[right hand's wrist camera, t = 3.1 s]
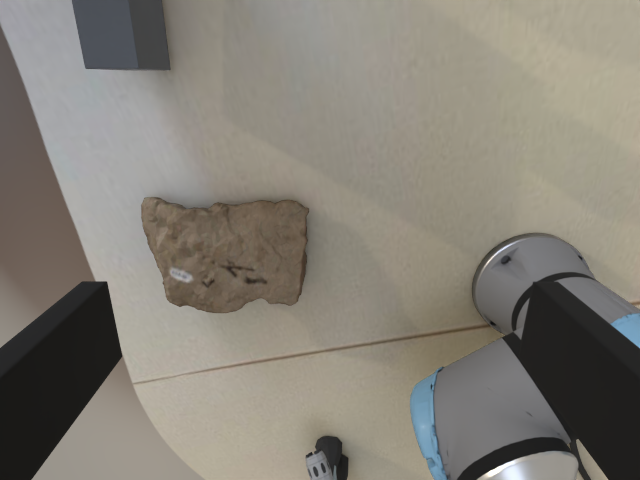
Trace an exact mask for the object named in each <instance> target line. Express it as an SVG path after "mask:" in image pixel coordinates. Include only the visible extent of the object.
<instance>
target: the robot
mask: <svg viewBox="0 0 640 480" xmlns="http://www.w3.org/2000/svg"><path fill="white" fill-rule="evenodd" d="M315 448H316V450H317V451H315V452H314V453H315V454H312V452H311V453H309V454H308V455H306V466H307V470H308V473H309V476H310V479H311V480H347V477H348V458H347V457H346V456H344V455H342V442H341V441H340V440H339V439H338V438H337V437H329V436H326V437H322V438H320V439H319V440H318V441H317V443H316V446H315Z"/></svg>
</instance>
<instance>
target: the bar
mask: <svg viewBox="0 0 640 480" xmlns="http://www.w3.org/2000/svg"><path fill="white" fill-rule="evenodd" d="M72 4H73V9H74V14H75V19H76V24H77V29H78V34H79V39H80V44H81V49H82V54H83V59H84V64H85V68H86V69H107V70H170V62H169V54H168V46H167V39H166V31H165V23H164V15H163V7H162V0H72Z"/></svg>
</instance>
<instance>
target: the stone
mask: <svg viewBox="0 0 640 480" xmlns="http://www.w3.org/2000/svg"><path fill="white" fill-rule="evenodd" d="M141 210H142V216H141V218H142V222H143V228H144V232H145V234H146V236H147V240H148V245H149V247H150V250H151V251H152V253H153V254H154V257H155V260H156V262H157V266H158V268H159V269H160V271H161V273H162V276H163V280H164V281H163V284H164V288H165V292H166V297H167V300H168V301H169V302H170V303H172V304H175V305H177V306H179V307H181V306H185V305H188V306H192V307H195V308H196V309H197V310H203V311H206V312H212V313H228V312H233V311H237V310H239V309H240V308H242V307H243V306H244V305H245V304H246V303H248V302H251V301H254V300H256V299H258V298H263V299H265V300H266V301H267V302H268V303H269V304H277V303H280V304H286V305H290V306H291V305H293V304H295V303H296V302H297V301H298V298H299V295H301V292H302V285H303V281H304V277H305V270H306V263H307V261H306V253H305V247H306V244H307V241H308V240H307V237H306V231H307V227H306V216H307V214H308V212H309V209H308V208H305V207H304V206H302V205H301V204H299V203H298V202H296V201H292V200H284V201H280V202H277V203H275V204H274V203H272V202H271V201H263V200H262V201H255V202H253V203H244V204H241V205H233V206H232V205H227V204H222V203H215V204H213V206H211V207H210V208H208V209H207V208H195V207H194V208H191V209H186V208H184V207H183V206H182V205H179V204H173V203H167V202H166V201H164V200H162V199H161V198H158V197H147V198H144V201H143V203H142V205H141Z"/></svg>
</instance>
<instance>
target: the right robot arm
mask: <svg viewBox="0 0 640 480" xmlns="http://www.w3.org/2000/svg"><path fill="white" fill-rule="evenodd" d="M472 296H473V301H474V304H475V306H476V308H477V310H478V312H479V313H480V314H481V316H482V317H483V319H484V320H485V321H486V322H487V323H488V324H489V325H490V326H491V327H493V328H494V329H496V330H497V331H499V332H501V333H503V334H504V335H506V336H504V337H502V338H500V339H498V340H496V341H494V342H492V343H490V344H488V345H486V346H484V347H482V348H481V349H479V350H477V351H475V352H473V353H471V354H469V355H467V356H465V357H463V358H461V359H460V360H458V361H456V362H454V363H452V364H450V365H448V366H446V367H441V368H439V369H437V370H436V371H435V373H434V374H432V375H430V376H429V377H427V378H425V379H424V380H422V381H420V382H419V383H417V384H416V385H415V387H414V389H413V391H412V394H411V397H410V411H411V418H412V423H413V427H414V431H415V434H416V438H417V441H418V444H419V447H420V450H421V452H422V455H423V457H424V458H426V460H427V463H428V467H429V470H430V472H431V474H432V476H433V478H434V479H435V480H576V477H577V471H578V470H579V472H580V474H581V475H582V477H583V478H584V480H591V479H590V477H589V476H588V474H587V472H586V470H585V469H584V467H583V464H582V462H581V459H580V456H579V453H578V449H577V444H576V439H579V440H580V442H581V443H582V444H583V446H584V447H585V448H586V450H587V451H588V452H589V454H590V455H591V456H592V458H593V459H594V460H595V462H596V463H597V465H598V466H599V467H600V469H601V470H602V471H603V473H604V474H605V475H606V477H607V478H608V479H609V480H640V310H639V309H638V308H636V307H635V306H633V305H632V304H630V303H629V302H628V301H626V300H625V299H623V298H622V297H620V296H619V295H617V294H616V293H614V292H613V291H611V290H610V289H608V288H607V287H605V286H604V285H602V284H601V283H600V282H598V281H597V280H596V279H595V278H594V276H593V274H592V272H591V271H590V270H589V267H588V265H587V263H586V261H585V260H584V258H583V257H582V255H581V254H580V253H579V252H578V251H577V250H576V249H575V248H574V247H573V246H571V245H570V244H568V243H567V242H565V241H564V240H562V239H560V238H558V237H555V236H553V235H549V234H543V233H530V234H524V235H519V236H516V237H513V238H511V239H508V240H506V241H505V242H503V243H501V244H500V245H498V246H497V247H495V248H494V249H493V250H492V251H491V252H489V254H488V255H487V256H486V257H485V258H484V259H483V260H482V262H481V263H480V265H479V267H478V269H477V271H476V273H475V276H474V279H473V284H472ZM121 357H122V353H121V348H120V343H119V338H118V333H117V328H116V323H115V318H114V313H113V309H112V304H111V299H110V294H109V289H108V284H107V282H81V283H80V284H79V285H77V286H76V287H75V288H74V289H72V290H71V291H70V292H69V293H67V294H66V295H65V296H64V297H63V298H61V299H60V300H59V301H58V302H56V303H55V304H54V305H53V306H51V307H50V308H49V309H48V310H47V311H45V312H44V313H43V314H42V315H40V316H39V317H38V318H37V319H35V320H34V321H33V322H32V323H31V324H29V325H28V326H27V327H26V328H24V329H23V330H22V331H21V332H19V333H18V334H17V335H16V336H15V337H13V338H12V339H11V340H10V341H8V342H7V343H6V344H5V345H3V346H2V347H1V348H0V480H31V479H32V478H33V477H34V475H35V474H36V473H37V471H38V470H39V469H40V467H41V466H42V465H43V463H44V462H45V460H46V459H47V458H48V456H49V455H50V454H51V452H52V451H53V450H54V448H55V447H56V446H57V444H58V443H59V442H60V440H61V439H62V437H63V436H64V435H65V433H66V432H67V431H68V429H69V428H70V427H71V425H72V424H73V423H74V421H75V420H76V418H77V417H78V416H79V414H80V413H81V412H82V410H83V409H84V408H85V406H86V405H87V404H88V402H89V401H90V399H91V398H92V397H93V395H94V394H95V393H96V391H97V390H98V389H99V387H100V386H101V385H102V383H103V382H104V380H105V379H106V378H107V376H108V375H109V374H110V372H111V371H112V370H113V368H114V367H115V366H116V364H117V363H118V362H119V360H120V359H121ZM568 443H570V448H571V450H570V449H569V447H568V446H567V444H568Z"/></svg>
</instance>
